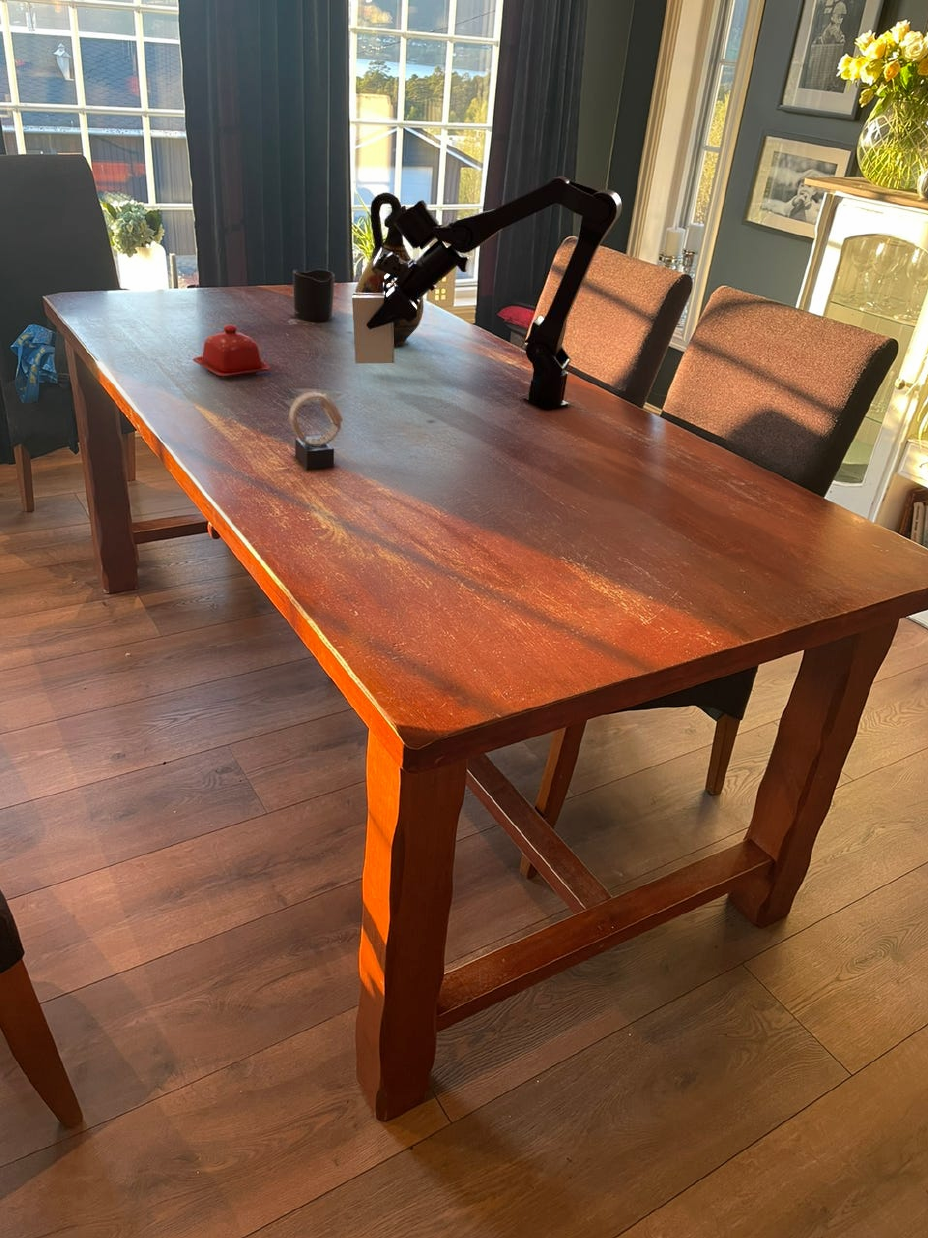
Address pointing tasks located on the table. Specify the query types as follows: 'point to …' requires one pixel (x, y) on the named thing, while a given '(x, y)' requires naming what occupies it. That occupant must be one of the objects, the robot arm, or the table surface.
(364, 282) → the ceramic jug
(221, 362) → the butter dish
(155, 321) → the table surface
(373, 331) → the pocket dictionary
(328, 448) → the ring sculpture
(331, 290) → the pen holder
